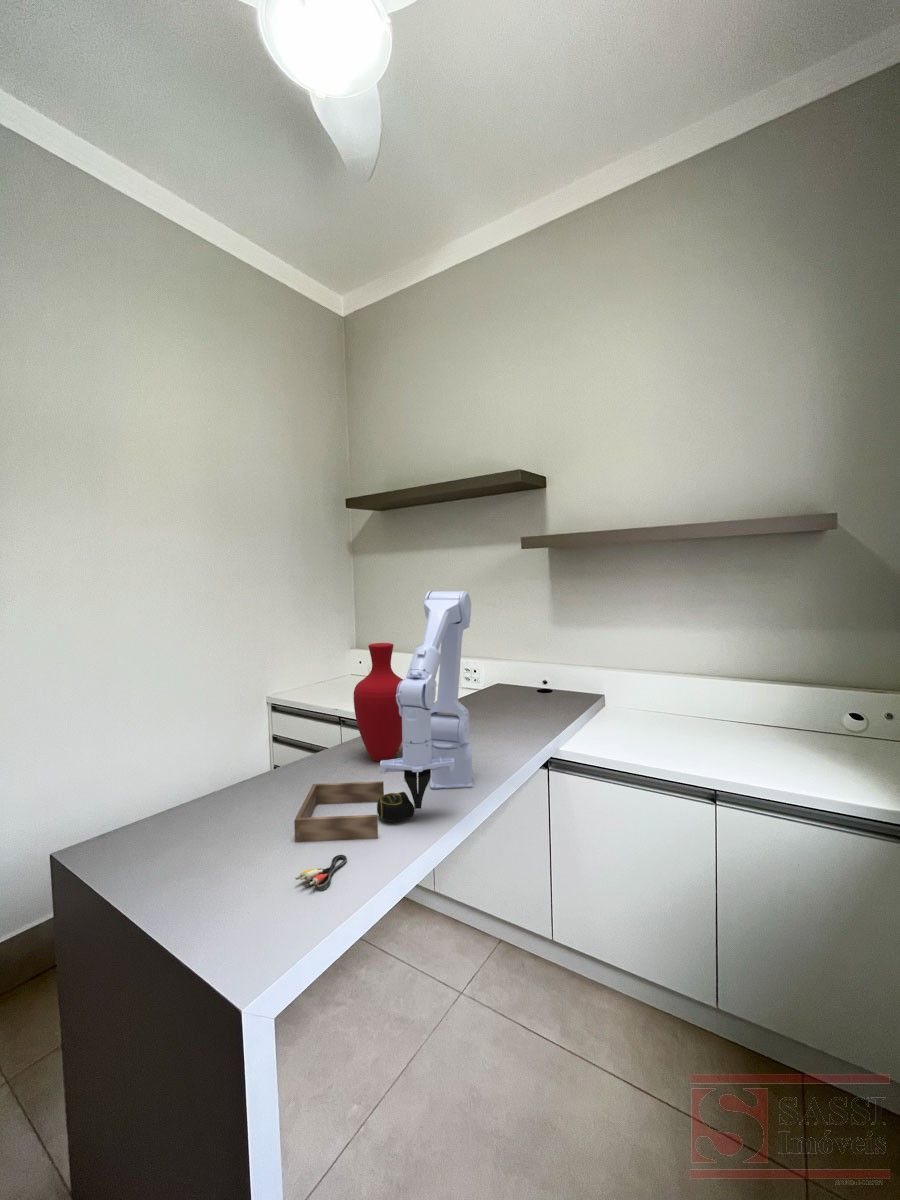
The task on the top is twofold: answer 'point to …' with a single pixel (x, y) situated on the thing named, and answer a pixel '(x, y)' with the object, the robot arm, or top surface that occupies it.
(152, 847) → the top surface
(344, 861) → the composite cable
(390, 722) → the vase
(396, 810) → the tape measure
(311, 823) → the u-shaped wooden frame
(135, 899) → the top surface
